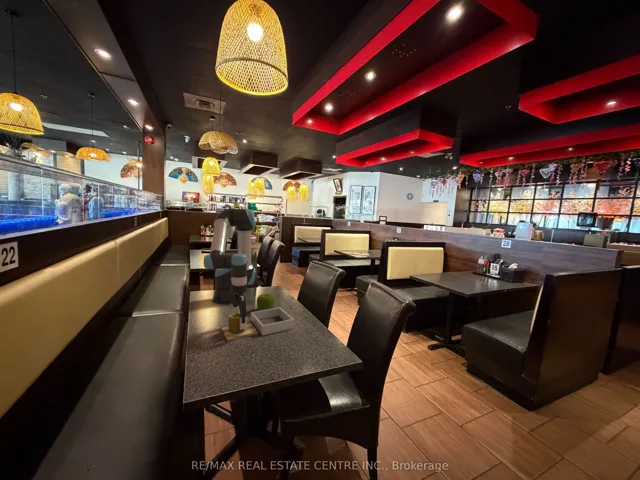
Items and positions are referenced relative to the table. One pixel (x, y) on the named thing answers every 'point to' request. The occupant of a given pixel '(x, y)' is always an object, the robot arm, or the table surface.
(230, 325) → the mug
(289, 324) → the tub
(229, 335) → the board
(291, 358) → the table surface
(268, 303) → the apple
